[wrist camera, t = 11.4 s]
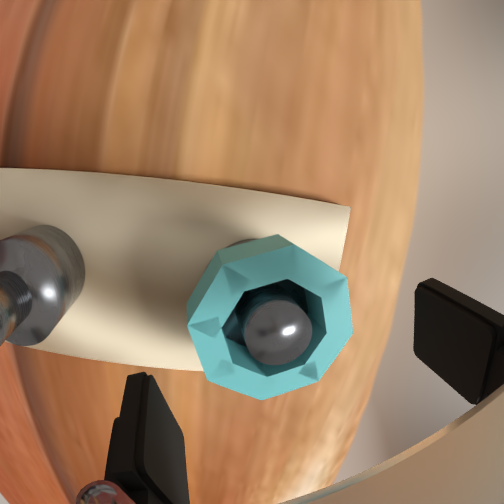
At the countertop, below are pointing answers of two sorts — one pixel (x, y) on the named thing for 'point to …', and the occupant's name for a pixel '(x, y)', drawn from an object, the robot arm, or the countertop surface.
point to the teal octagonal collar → (253, 276)
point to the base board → (151, 251)
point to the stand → (37, 283)
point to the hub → (271, 321)
